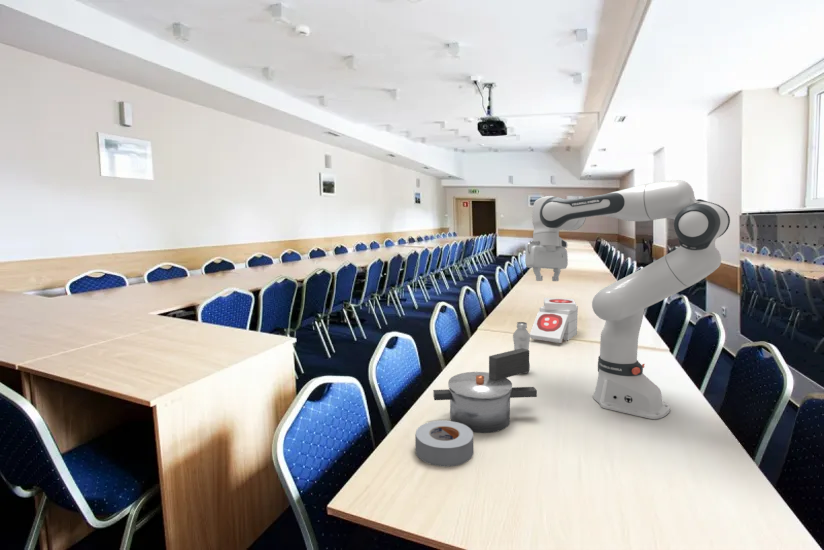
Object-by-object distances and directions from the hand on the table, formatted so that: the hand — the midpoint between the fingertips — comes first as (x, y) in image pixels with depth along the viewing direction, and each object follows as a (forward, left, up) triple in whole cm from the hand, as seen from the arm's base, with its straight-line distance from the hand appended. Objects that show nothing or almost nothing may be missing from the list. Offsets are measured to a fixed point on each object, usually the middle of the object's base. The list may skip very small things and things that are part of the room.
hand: (547, 281), depth 154 cm
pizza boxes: (+30, -59, -38) cm, 77 cm away
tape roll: (-6, +60, -39) cm, 71 cm away
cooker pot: (-2, +37, -38) cm, 54 cm away
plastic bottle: (+13, -4, -38) cm, 41 cm away
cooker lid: (-2, +34, -28) cm, 44 cm away
